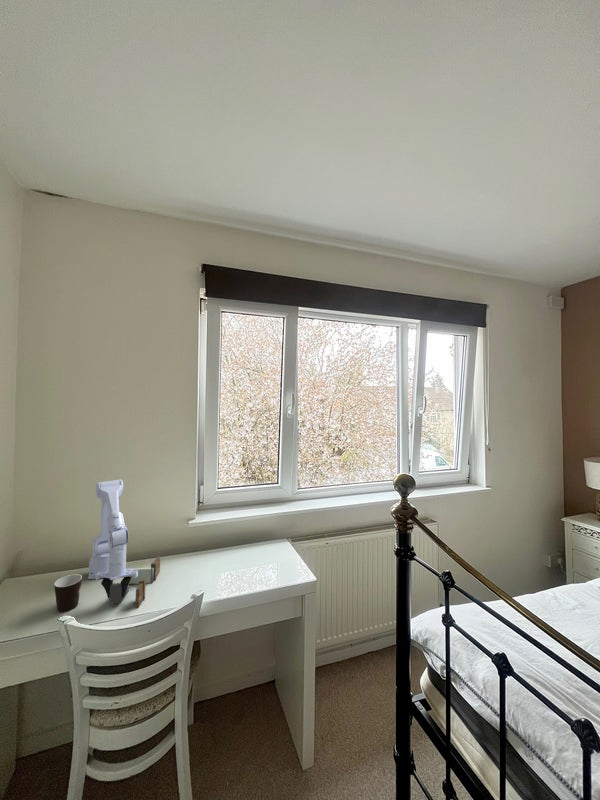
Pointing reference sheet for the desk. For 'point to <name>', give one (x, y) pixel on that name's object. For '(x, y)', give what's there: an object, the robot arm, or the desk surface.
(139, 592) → the door frame
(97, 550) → the robot arm
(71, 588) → the coffee mug
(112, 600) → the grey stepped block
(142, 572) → the door
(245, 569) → the desk surface
